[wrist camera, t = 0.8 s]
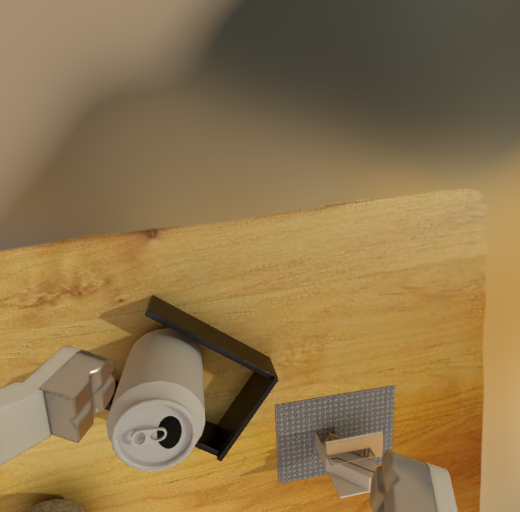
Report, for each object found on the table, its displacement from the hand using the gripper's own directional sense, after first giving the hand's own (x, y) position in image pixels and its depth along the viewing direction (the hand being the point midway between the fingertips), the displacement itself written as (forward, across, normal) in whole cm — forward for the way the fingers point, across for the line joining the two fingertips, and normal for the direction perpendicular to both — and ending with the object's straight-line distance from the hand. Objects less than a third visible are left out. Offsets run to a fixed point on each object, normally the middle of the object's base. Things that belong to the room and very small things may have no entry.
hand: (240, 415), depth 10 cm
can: (+20, +12, +20) cm, 30 cm away
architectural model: (+25, -9, +30) cm, 40 cm away
